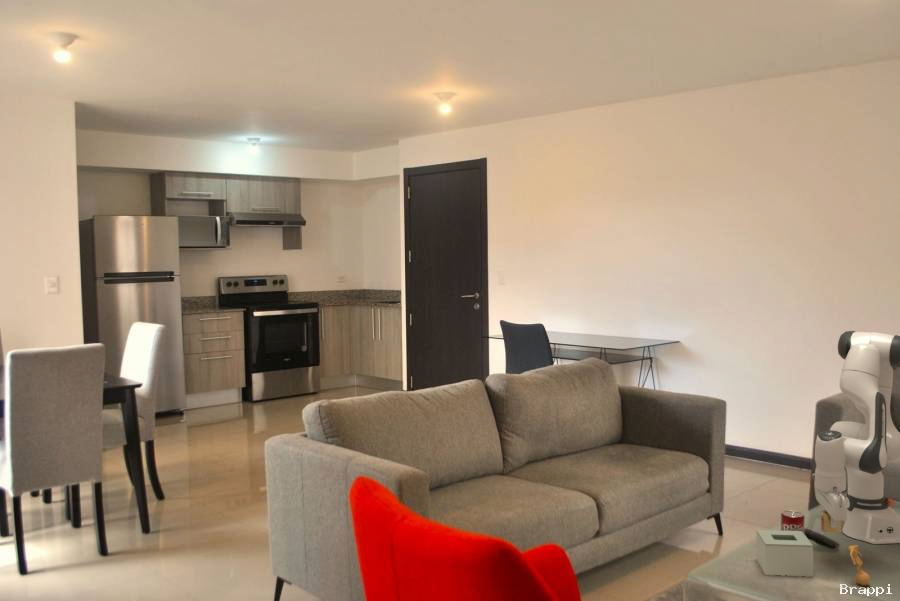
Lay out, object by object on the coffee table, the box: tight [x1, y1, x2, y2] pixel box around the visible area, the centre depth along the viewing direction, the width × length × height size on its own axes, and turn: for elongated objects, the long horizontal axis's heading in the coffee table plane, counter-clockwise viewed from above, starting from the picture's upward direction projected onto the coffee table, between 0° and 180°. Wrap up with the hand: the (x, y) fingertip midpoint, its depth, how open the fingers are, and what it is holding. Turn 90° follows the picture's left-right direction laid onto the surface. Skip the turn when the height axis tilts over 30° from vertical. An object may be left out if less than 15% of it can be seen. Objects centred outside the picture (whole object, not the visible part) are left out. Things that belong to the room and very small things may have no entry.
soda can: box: [780, 509, 805, 534], centre depth 266 cm, size 7×7×12 cm
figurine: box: [847, 544, 871, 587], centre depth 238 cm, size 8×6×12 cm
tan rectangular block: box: [820, 510, 842, 533], centre depth 252 cm, size 5×3×6 cm, turn 81°
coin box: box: [756, 529, 814, 578], centre depth 251 cm, size 14×12×10 cm
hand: (831, 524), depth 252 cm, fingers closed on tan rectangular block, 3 cm apart
